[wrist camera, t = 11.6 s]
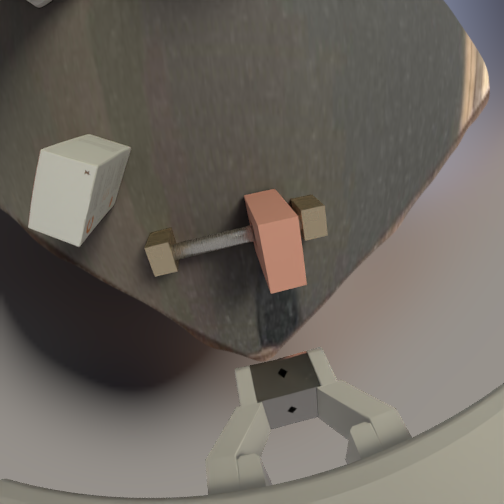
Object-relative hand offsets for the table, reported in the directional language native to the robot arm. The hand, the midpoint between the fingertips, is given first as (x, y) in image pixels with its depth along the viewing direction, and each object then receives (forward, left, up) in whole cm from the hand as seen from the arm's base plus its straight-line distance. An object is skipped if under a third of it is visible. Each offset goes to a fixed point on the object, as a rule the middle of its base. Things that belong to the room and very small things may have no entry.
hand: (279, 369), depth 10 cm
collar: (+8, -2, -31) cm, 32 cm away
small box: (-14, -7, -31) cm, 35 cm away
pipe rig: (+5, -5, -31) cm, 32 cm away
